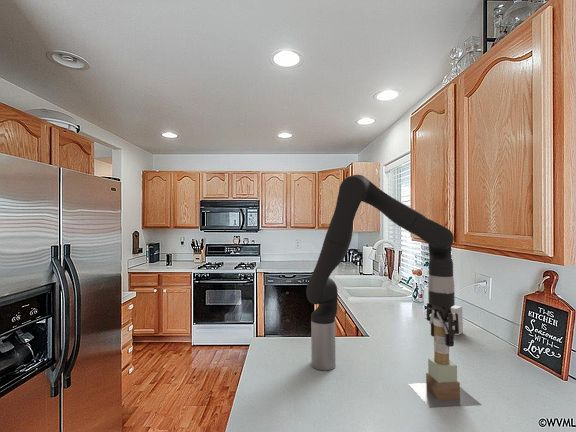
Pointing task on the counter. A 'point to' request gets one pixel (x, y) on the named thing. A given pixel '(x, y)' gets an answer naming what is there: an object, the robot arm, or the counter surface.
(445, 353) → the sprinkles bottle
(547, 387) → the counter surface
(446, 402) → the slate board
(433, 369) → the sage top block
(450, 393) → the walnut base block
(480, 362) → the counter surface
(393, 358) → the counter surface
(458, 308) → the small box
